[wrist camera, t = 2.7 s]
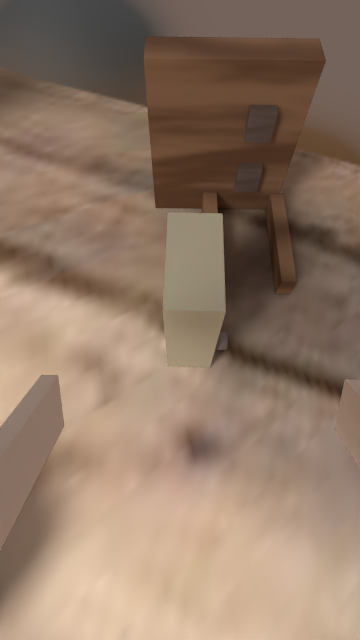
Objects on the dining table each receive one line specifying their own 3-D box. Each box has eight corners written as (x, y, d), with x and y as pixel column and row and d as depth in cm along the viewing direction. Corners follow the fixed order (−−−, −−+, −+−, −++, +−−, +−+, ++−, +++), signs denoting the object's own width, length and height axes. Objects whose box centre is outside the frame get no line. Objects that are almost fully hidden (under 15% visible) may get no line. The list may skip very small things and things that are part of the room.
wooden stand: (289, 293, 36) (364, 168, 22) (151, 292, 36) (133, 165, 22) (275, 190, 42) (325, 38, 28) (156, 188, 42) (145, 36, 28)
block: (221, 367, 33) (243, 311, 22) (167, 366, 33) (162, 309, 22) (219, 294, 36) (237, 213, 25) (171, 293, 36) (167, 212, 25)
